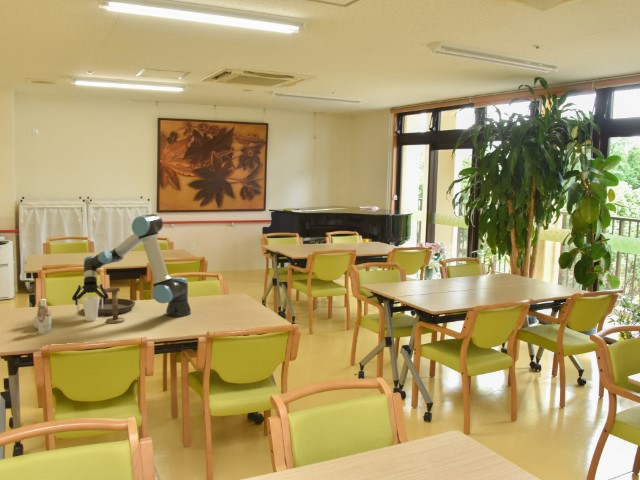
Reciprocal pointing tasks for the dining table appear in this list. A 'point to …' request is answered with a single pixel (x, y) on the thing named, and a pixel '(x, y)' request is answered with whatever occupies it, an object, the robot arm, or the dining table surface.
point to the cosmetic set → (43, 318)
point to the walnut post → (114, 306)
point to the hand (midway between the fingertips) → (90, 308)
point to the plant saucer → (123, 306)
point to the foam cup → (91, 308)
